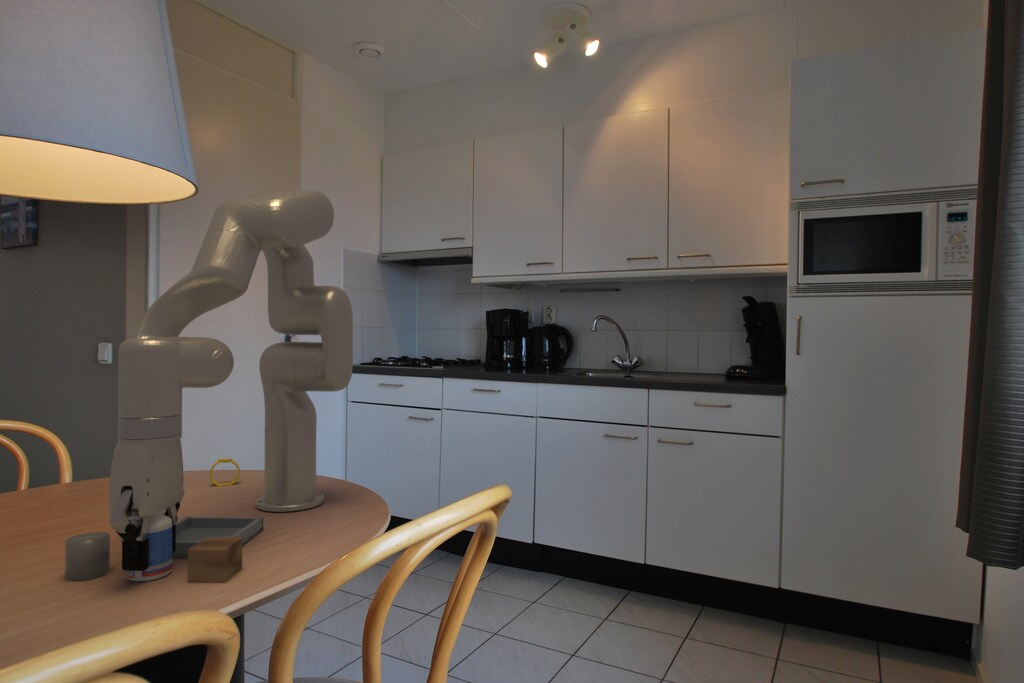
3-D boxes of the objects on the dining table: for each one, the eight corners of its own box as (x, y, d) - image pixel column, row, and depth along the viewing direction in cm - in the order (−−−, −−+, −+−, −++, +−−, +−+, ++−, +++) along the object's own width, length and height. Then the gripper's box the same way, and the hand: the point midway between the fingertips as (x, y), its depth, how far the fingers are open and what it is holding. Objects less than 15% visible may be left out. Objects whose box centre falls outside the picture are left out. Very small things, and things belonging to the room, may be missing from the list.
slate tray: (186, 529, 103) (186, 516, 103) (263, 530, 103) (263, 517, 103) (138, 557, 90) (139, 542, 90) (227, 557, 90) (227, 543, 90)
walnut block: (206, 569, 86) (206, 537, 86) (241, 569, 86) (242, 537, 86) (187, 583, 81) (187, 549, 81) (225, 583, 81) (225, 549, 81)
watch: (238, 483, 137) (241, 457, 137) (238, 486, 134) (241, 459, 134) (209, 484, 134) (211, 457, 135) (208, 487, 132) (210, 459, 132)
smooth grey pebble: (82, 567, 86) (82, 531, 86) (117, 567, 86) (118, 532, 86) (55, 581, 81) (56, 543, 81) (93, 581, 81) (93, 544, 81)
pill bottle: (180, 567, 86) (180, 498, 86) (159, 582, 81) (159, 508, 81) (140, 567, 86) (141, 498, 86) (117, 582, 81) (117, 508, 81)
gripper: (159, 420, 92) (159, 540, 92) (78, 438, 75) (77, 586, 75) (209, 420, 92) (208, 540, 92) (139, 439, 75) (138, 586, 75)
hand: (149, 559), depth 83 cm, fingers open, 5 cm apart
